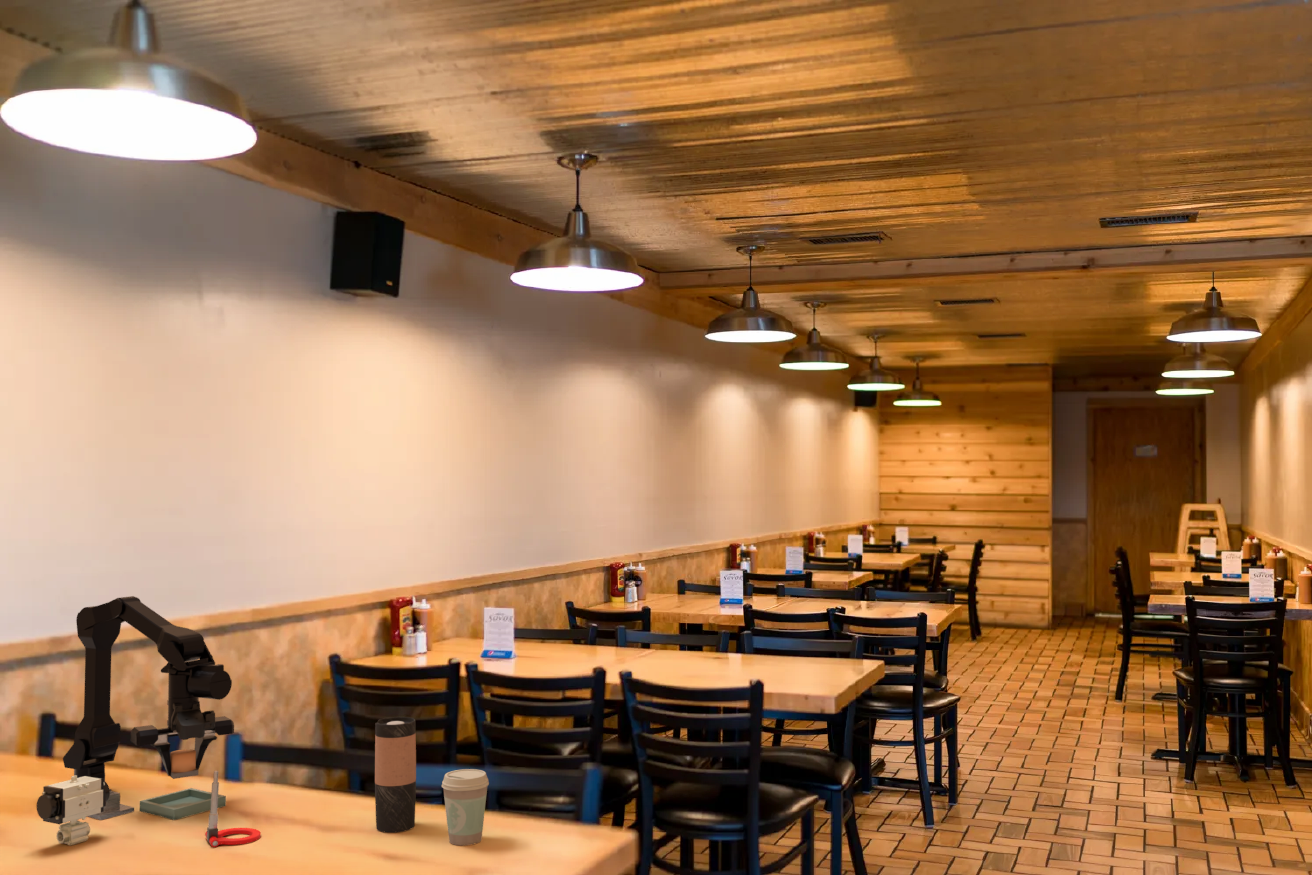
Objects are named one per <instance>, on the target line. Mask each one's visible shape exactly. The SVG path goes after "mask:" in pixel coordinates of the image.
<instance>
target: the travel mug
mask: <svg viewBox="0 0 1312 875" xmlns="http://www.w3.org/2000/svg"><path fill="white" fill-rule="evenodd" d="M374 725H375V726H374V731H375V734H374V736H375V737H374V740H375V741H374V742H375V743H374V799H375V800H374V802H375V804H374V806H375V824H376V825H375V827H376V830H377V831H378V832H381V833H391V834H392V833H395V834H396V833H403V832H406V831H410V830H412V829H414V827H415V824H416V823H415V822H416V795H417V792H416V791H417V749H416V748H417V746H416V745H417V743H416V740H417V737H416V736H417V735H416V732H417V731H416V728H417V727H416V725H417V724H416V719H415V718H413V717H408V716H393V717H390V716H389V717H384V718H380V719H378V720H377V722H375V724H374Z"/></svg>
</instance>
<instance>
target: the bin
mask: <svg viewBox="0 0 1312 875" xmlns="http://www.w3.org/2000/svg"><path fill="white" fill-rule="evenodd" d="M211 792H212V791H211ZM211 792H210V791H206V790H201V789H198V788H192V787H189V788H186V789H182V790H178V791H174V792H170V793H165V794H162V795H158V796H155V797H151V798H146V799H142V800H139V812H141V813H144V814H145V813H146V814H148V815H153V816H156V817H160V818H164V819H167V820H173V821H176V820H179V819H183V818H186V817H191V816H194V815H198V814H202V813H205V812H210V809H211ZM226 803H227V796H226V795H223V794H219V793H218V807H217V809H219V808H223V807H226V805H227V804H226Z"/></svg>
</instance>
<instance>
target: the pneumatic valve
mask: <svg viewBox="0 0 1312 875" xmlns="http://www.w3.org/2000/svg"><path fill="white" fill-rule="evenodd" d="M42 788H43V789H42V790H43V791H42V792H41V795H40V796H39V797H38V798H37V800H36V812H37V815H38V817H39V818H41V819H42V821H43V822H44V823H51V824H57V825H59V826H58V831H57V832H56V839H57V842H58V844H66V845H68V846H70V847H71V846H75V845H78V844H80V843H85V842H86V841H88V839H90V838H89V834H90V832H91V826H90V825H89V824H90V823H89V822H87V821H80V820H86V819H87V818H86V817H87V816H90V815H94V814H97V813H101V812H104V806H106V802H107V801H108V799H109V796H110V787H109V784H108V782H107V781H106V780H105V781H104V778H100V777H95V776H89V775H87V776H83V777H79V778H77V776H76V775H75V776H74V775H72V776H70V779H68V780H65V781H60V782H55V783H52V784H48V785H45V786H43V787H42Z"/></svg>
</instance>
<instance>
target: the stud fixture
mask: <svg viewBox="0 0 1312 875" xmlns="http://www.w3.org/2000/svg"><path fill="white" fill-rule="evenodd" d="M133 812H135V807H134V806H130V805H126V804H122V803H121V793H120V792H117V791H113V790H112V791H110V796H109V799H108V801H107V802H106V806H104V812H101V813H97V814H94V815H90V816H87V817H88V818H92V819H96V820H99V821H103V820H106V819H110V818H114V817H118V816H122V815H125V814H129V813H133Z"/></svg>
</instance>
